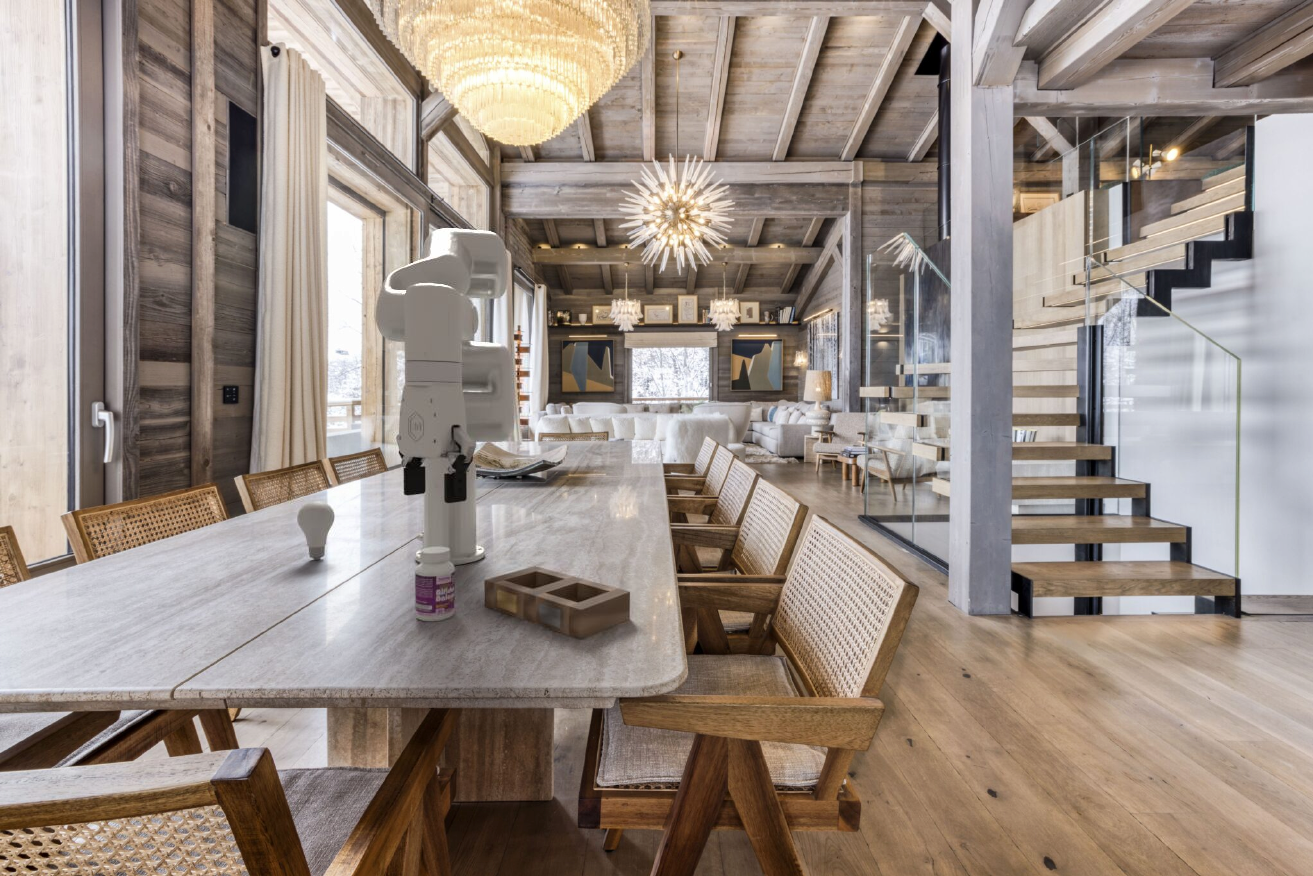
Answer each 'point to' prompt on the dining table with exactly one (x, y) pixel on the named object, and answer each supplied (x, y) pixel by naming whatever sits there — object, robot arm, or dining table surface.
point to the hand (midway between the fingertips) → (434, 498)
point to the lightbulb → (316, 526)
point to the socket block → (558, 601)
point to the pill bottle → (434, 585)
